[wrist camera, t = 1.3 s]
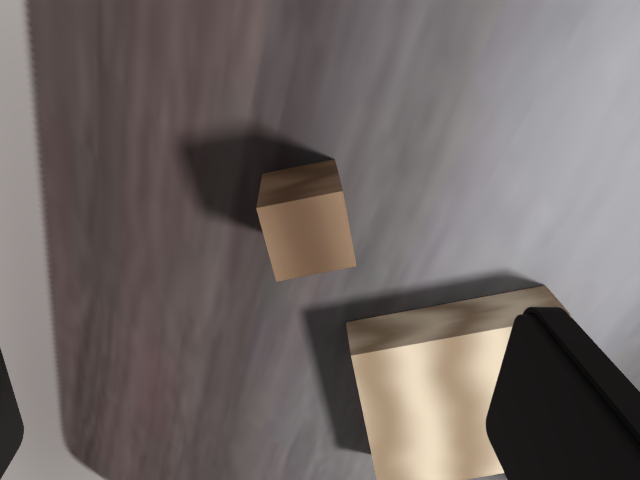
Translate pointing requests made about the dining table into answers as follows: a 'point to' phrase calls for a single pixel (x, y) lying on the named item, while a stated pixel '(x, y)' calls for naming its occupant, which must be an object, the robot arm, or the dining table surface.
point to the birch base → (435, 383)
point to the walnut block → (305, 220)
